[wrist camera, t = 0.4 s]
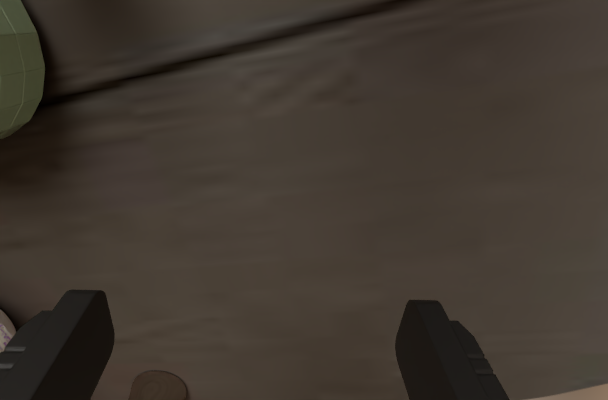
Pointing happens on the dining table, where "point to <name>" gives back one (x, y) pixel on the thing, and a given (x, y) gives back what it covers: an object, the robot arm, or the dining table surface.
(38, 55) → the serving bowl
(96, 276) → the dining table surface
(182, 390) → the beer glass
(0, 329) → the paper bowls
